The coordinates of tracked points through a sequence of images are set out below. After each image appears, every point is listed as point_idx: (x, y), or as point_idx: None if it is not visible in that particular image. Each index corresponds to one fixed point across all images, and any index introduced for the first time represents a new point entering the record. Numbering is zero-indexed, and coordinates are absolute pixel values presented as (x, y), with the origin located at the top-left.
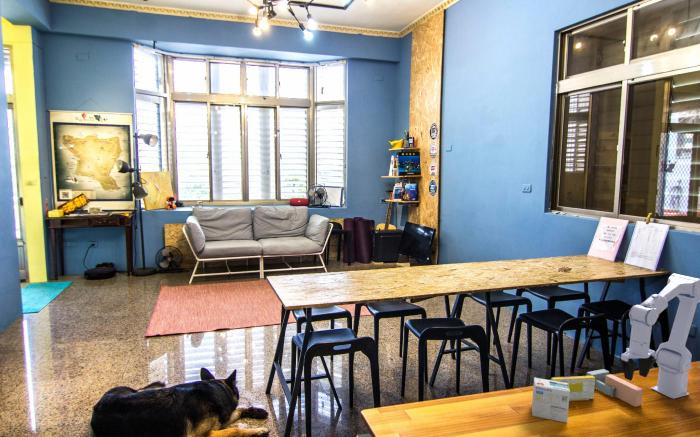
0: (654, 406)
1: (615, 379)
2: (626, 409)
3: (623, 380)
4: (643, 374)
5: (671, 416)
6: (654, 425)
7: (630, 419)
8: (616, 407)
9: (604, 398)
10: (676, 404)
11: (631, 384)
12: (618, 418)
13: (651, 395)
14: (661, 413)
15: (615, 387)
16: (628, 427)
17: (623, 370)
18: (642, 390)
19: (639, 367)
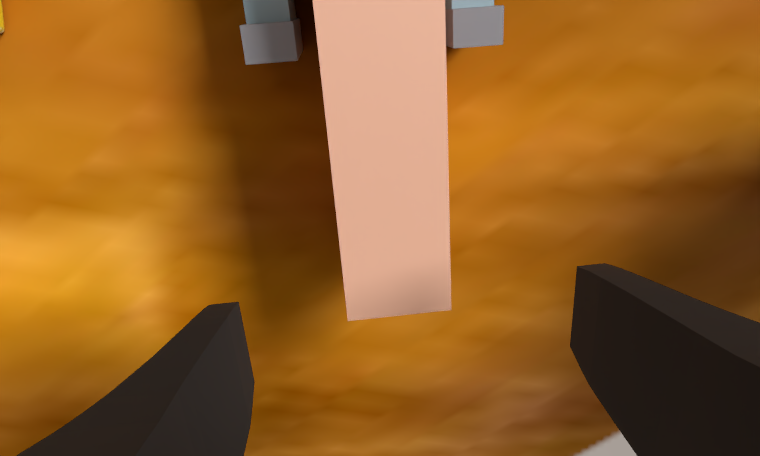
0: (514, 268)
1: (333, 1)
2: (219, 256)
3: (432, 61)
4: (591, 341)
5: (489, 393)
6: (247, 451)
7: (125, 372)
8: (149, 211)
9: (156, 41)
10: (721, 281)
11: (430, 186)
12: (28, 346)
13: (700, 116)
14: (459, 353)
15: (288, 55)
16: (21, 442)
17: (130, 378)
18: (443, 302)
19: (656, 316)
